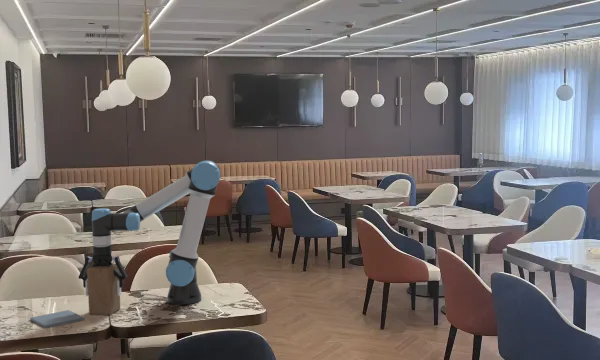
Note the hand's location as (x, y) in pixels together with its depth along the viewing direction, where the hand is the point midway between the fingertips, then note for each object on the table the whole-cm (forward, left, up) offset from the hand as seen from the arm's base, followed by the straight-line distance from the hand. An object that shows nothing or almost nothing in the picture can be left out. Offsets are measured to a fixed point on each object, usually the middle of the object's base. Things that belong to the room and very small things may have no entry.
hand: (103, 295), depth 281 cm
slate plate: (+16, +11, -7) cm, 21 cm away
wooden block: (0, 0, -8) cm, 8 cm away
